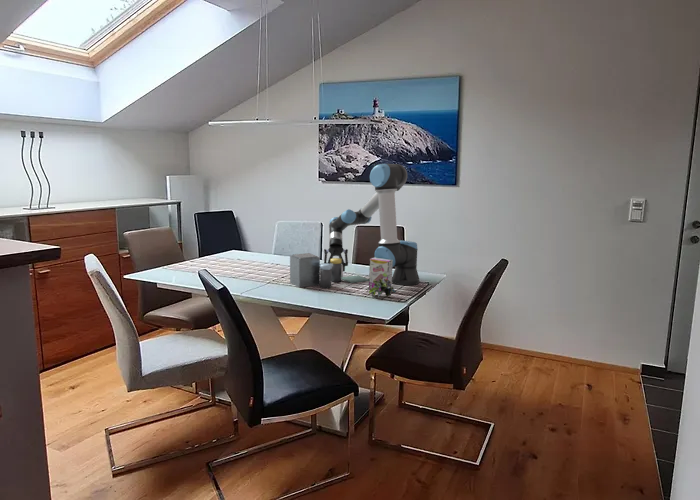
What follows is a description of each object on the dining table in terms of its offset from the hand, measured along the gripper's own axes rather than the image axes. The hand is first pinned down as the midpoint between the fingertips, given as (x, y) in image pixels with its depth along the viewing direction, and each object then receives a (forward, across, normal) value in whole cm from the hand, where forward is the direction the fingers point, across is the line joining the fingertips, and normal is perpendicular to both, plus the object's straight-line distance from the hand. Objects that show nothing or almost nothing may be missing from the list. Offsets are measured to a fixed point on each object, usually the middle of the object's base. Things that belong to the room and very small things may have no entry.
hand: (336, 275), depth 282 cm
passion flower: (+24, -22, +18) cm, 37 cm away
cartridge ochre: (0, 0, -5) cm, 5 cm away
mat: (-2, -11, -8) cm, 13 cm away
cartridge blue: (+9, +6, +4) cm, 12 cm away
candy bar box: (+14, -23, +8) cm, 28 cm away
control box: (+5, +17, 0) cm, 18 cm away
